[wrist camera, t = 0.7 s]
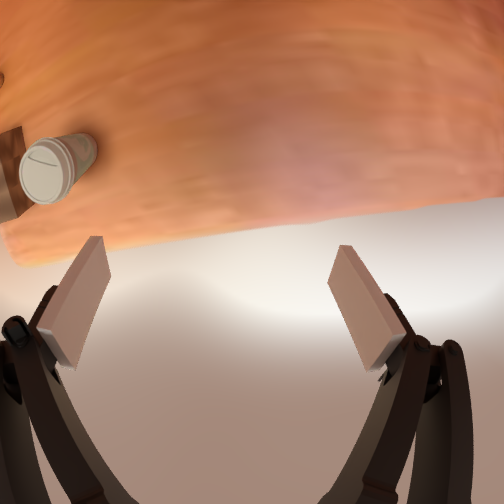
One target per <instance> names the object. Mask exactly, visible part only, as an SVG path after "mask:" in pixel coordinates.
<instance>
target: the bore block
mask: <svg viewBox="0 0 504 504" xmlns="http://www.w3.org/2000/svg"><path fill="white" fill-rule="evenodd" d="M25 153H26V149H25V144H24V139H23V133H22V127H18V128H15V129H12V130H10V131H7V132H4V133H2V134H0V223H3V222H6V221H9V220H13V219H16V218H18V217H19V216H21V215H22V214H23V213H24V212H25V211H26V210H27V209H29V208H30V207H31V206H32V205H33V204H34V203H35V202H34V201H32V200H31V199H30V198H29V197H28V196H27V195H26V193H25V192H24V190H23V188H22V186H21V182H20V177H19V168H20V163H21V160H22V157H23V156H24V154H25Z"/></svg>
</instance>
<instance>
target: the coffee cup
mask: <svg viewBox="0 0 504 504" xmlns="http://www.w3.org/2000/svg"><path fill="white" fill-rule="evenodd" d="M97 152H98V150H97V144H96V142H95V140H94V138H93V137H92V136H90V135H89V134H86V133H78V134H71V135H66V136H61V137H56V138H51V137H45V138H41V139H39V140H37V141H36V142H35V143H33V144H32V145H31V146H30V147H29V148H28V150H27V151H26V153H25V154H24V156H23V157H22V160H21V163H20V168H19V177H20V182H21V186H22V188H23V190H24V192H25V193H26V195H27V196H28V197H29V198H30V199H31V200H32V201H34V202H35V203H38V204H42V205H46V204H53V203H56V202H58V201H60V200H62V199H63V198H65V197H66V196H67V194H68V193H69V191H70V190H71V187H72V186H73V185H74V184H75V182H76V181H77V180H78V179H79V178H80V177H81V176H82V175H83V174H84V173H85V172H86V170H87V169H88V168H89V167H90V166H91V165H92V164H93V163H94V161H95V160H96V157H97Z"/></svg>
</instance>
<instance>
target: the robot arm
mask: <svg viewBox="0 0 504 504" xmlns="http://www.w3.org/2000/svg"><path fill="white" fill-rule="evenodd" d="M110 278H111V273H110V269H109V265H108V261H107V256H106V252H105V247H104V242H103V237H102V236H90V238H89V239H88V240H87V242H86V243H85V245H84V246H83V248H82V249H81V251H80V252H79V254H78V255H77V257H76V258H75V260H74V261H73V263H72V265H71V266H70V268H69V269H68V271H67V272H66V274H65V276H64V277H63V279H62V281H61V282H60V284H59V286H56V285H53V286H52V287H51V288H50V289H49V290H48V291H47V292H46V293H45V295H44V297H43V299H42V301H41V302H40V304H39V305H38V307H37V309H36V311H35V313H34V315H33V316H32V318H31V320H30V322H29V324H28V325H27V323H26V322H25V320H24V318H23V317H21V316H13V317H10V318H9V319H8V320H7V321H6V322H5V323H4V325H3V327H2V334H3V336H4V338H5V339H6V340H5V341H0V504H51V501H50V499H49V496H48V493H47V490H46V487H45V484H44V481H43V478H42V474H41V471H40V467H39V464H38V460H37V456H36V451H35V447H34V442H33V437H32V432H31V426H30V420H31V422H32V425H33V428H34V430H35V432H36V435H37V438H38V440H39V442H40V444H41V447H42V449H43V451H44V453H45V455H46V458H47V460H48V461H49V464H50V466H51V468H52V469H53V471H54V473H55V475H56V477H57V479H58V481H59V482H60V484H61V486H62V487H63V489H64V491H65V492H66V494H67V496H68V497H69V499H70V501H71V504H139V503H138V502H137V501H136V500H134V499H133V498H132V497H131V496H130V495H129V494H128V493H127V492H126V490H125V489H124V488H123V486H122V485H121V484H120V483H119V481H118V480H117V478H116V477H115V476H114V474H113V473H112V472H111V470H110V469H109V467H108V466H107V464H106V463H105V462H104V460H103V459H102V457H101V455H100V454H99V452H98V451H97V449H96V447H95V446H94V444H93V442H92V441H91V439H90V437H89V435H88V434H87V432H86V430H85V428H84V427H83V425H82V423H81V421H80V419H79V417H78V415H77V413H76V411H75V410H74V407H73V405H72V403H71V401H70V399H69V397H68V395H67V393H66V390H65V388H64V386H63V383H62V381H61V378H60V376H59V373H58V371H57V369H56V368H55V364H56V361H58V362H59V364H60V365H61V367H63V368H67V369H71V370H76V367H77V364H78V361H79V358H80V355H81V352H82V349H83V346H84V343H85V340H86V337H87V335H88V332H89V329H90V327H91V324H92V321H93V319H94V316H95V313H96V311H97V309H98V306H99V303H100V301H101V299H102V296H103V294H104V291H105V289H106V287H107V285H108V283H109V280H110ZM327 283H328V285H329V287H330V289H331V292H332V294H333V296H334V298H335V300H336V302H337V304H338V307H339V309H340V311H341V313H342V316H343V318H344V320H345V322H346V325H347V327H348V329H349V332H350V334H351V336H352V338H353V341H354V343H355V345H356V348H357V350H358V353H359V355H360V357H361V360H362V362H363V365H364V367H365V370H366V372H372V371H377V370H380V369H381V367H382V366H383V365H384V364H385V363H386V365H387V370H386V371H385V372H384V373H383V374H382V376H381V377H380V378H379V380H378V381H381V379H382V378H383V379H382V382H381V385H380V387H379V390H378V393H377V395H376V398H375V401H374V403H373V406H372V408H371V411H370V413H369V416H368V418H367V420H366V423H365V425H364V427H363V429H362V431H361V434H360V436H359V438H358V440H357V442H356V444H355V446H354V448H353V451H352V452H351V454H350V456H349V458H348V460H347V462H346V464H345V466H344V467H343V469H342V471H341V473H340V475H339V476H338V478H337V480H336V481H335V483H334V485H333V486H332V488H331V490H330V491H329V492H328V493H327V494H325V495H324V496H323V498H321V500H320V501H319V502H318V504H397V502H398V494H397V493H396V492H395V489H396V486H397V483H398V481H399V479H400V476H401V473H402V471H403V468H404V466H405V463H406V460H407V457H408V455H409V451H410V449H411V445H412V442H413V439H414V436H415V432H416V441H415V453H414V462H413V470H412V477H411V483H410V489H409V494H408V500H407V504H471V489H472V478H473V423H472V409H471V399H470V391H469V384H468V377H467V372H466V366H465V360H464V355H463V351H462V348H461V347H460V345H459V344H458V343H457V342H455V341H453V340H446V341H445V342H444V343H443V345H442V346H436V345H431V344H430V342H429V341H428V340H427V339H426V338H425V337H423V336H421V335H416V334H415V332H414V331H413V329H412V327H411V325H410V324H409V322H408V320H407V319H406V317H405V316H404V315H403V312H402V311H401V309H399V306H398V304H397V303H396V301H395V300H394V299H393V298H392V297H391V296H390V295H389V294H388V293H385V294H383V293H382V291H381V289H380V288H379V286H378V285H377V283H376V282H375V280H374V278H373V277H372V275H371V274H370V272H369V271H368V269H367V268H366V266H365V265H364V263H363V262H362V260H361V259H360V257H359V256H358V255H357V253H356V252H355V250H354V249H353V247H352V246H347V245H340V246H339V250H338V253H337V256H336V259H335V262H334V265H333V268H332V271H331V274H330V277H329V279H328V282H327ZM441 379H442V385H441V382H440V380H441ZM29 417H30V420H29Z"/></svg>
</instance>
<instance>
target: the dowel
mask: <svg viewBox="0 0 504 504" xmlns="http://www.w3.org/2000/svg"><path fill="white" fill-rule="evenodd" d="M3 82H4V75H3V74H2V73H0V88H1V86H2V85H3Z"/></svg>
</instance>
